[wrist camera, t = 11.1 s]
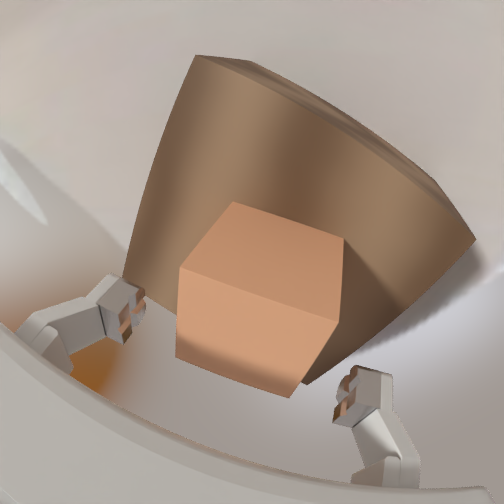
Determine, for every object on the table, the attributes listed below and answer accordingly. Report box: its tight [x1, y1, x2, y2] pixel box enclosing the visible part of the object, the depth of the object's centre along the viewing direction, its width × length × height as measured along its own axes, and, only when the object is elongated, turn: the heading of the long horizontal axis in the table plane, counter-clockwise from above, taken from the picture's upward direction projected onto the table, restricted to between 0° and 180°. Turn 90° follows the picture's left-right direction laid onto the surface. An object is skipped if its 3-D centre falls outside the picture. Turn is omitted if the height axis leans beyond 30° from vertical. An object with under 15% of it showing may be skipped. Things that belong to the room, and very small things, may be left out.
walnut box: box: [122, 55, 476, 385], centre depth 18 cm, size 14×14×8 cm
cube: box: [175, 202, 344, 398], centre depth 12 cm, size 5×5×5 cm
